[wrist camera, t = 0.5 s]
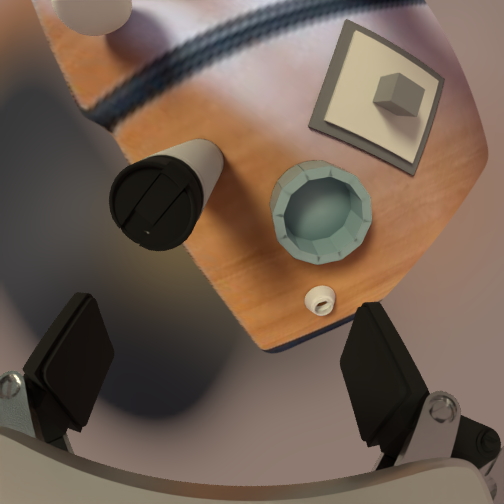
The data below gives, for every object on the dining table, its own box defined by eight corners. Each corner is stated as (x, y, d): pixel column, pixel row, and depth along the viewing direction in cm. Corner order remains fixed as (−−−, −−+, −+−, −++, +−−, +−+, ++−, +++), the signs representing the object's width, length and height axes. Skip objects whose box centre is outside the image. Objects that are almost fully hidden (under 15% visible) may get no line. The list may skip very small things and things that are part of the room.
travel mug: (236, 159, 34) (222, 204, 16) (201, 195, 36) (157, 275, 18) (199, 126, 32) (142, 135, 14) (166, 164, 34) (87, 216, 16)
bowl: (287, 147, 33) (295, 152, 28) (368, 179, 35) (385, 189, 30) (258, 230, 38) (260, 248, 33) (335, 254, 40) (346, 273, 35)
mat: (345, 20, 24) (346, 19, 24) (442, 79, 27) (444, 78, 26) (307, 126, 32) (308, 126, 31) (411, 174, 34) (413, 175, 34)
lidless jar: (335, 282, 42) (304, 286, 43) (340, 293, 40) (307, 297, 40) (333, 307, 45) (304, 310, 45) (337, 318, 42) (307, 322, 42)
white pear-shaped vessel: (133, -12, 21) (71, -65, 5) (151, 21, 24) (85, -33, 8) (88, 19, 22) (9, -12, 6) (103, 53, 26) (16, 28, 10)
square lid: (354, 31, 25) (371, 19, 20) (435, 81, 27) (460, 79, 22) (323, 120, 31) (338, 120, 26) (409, 162, 33) (432, 170, 28)
